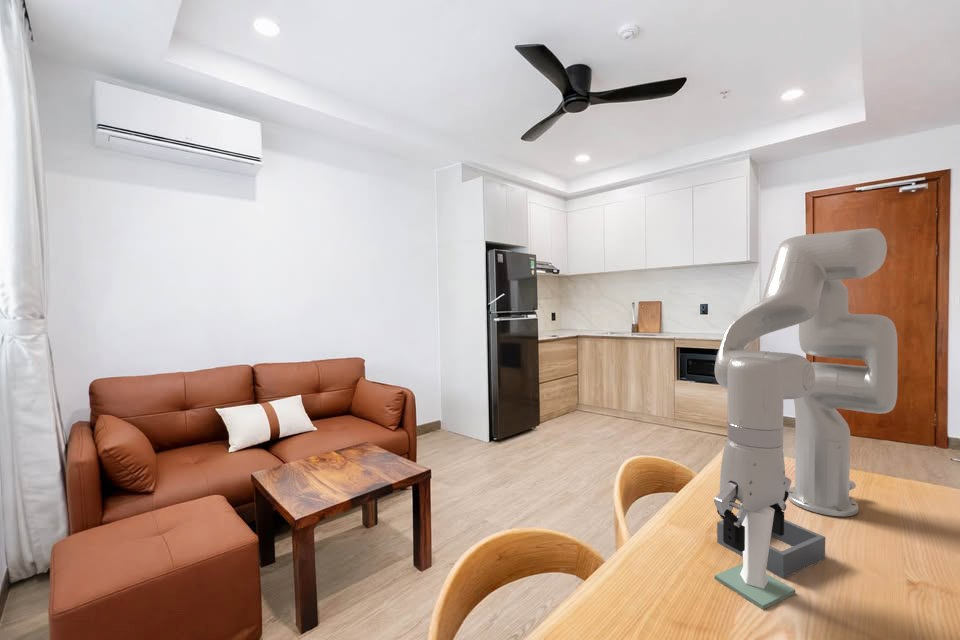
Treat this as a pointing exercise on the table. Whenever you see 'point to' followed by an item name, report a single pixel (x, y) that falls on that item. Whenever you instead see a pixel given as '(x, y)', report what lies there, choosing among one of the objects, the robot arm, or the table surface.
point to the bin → (789, 549)
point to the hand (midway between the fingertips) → (754, 539)
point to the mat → (755, 588)
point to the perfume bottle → (757, 546)
